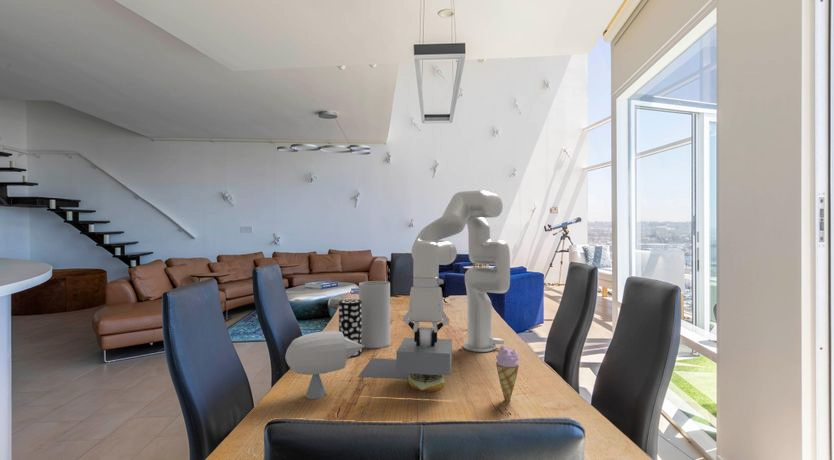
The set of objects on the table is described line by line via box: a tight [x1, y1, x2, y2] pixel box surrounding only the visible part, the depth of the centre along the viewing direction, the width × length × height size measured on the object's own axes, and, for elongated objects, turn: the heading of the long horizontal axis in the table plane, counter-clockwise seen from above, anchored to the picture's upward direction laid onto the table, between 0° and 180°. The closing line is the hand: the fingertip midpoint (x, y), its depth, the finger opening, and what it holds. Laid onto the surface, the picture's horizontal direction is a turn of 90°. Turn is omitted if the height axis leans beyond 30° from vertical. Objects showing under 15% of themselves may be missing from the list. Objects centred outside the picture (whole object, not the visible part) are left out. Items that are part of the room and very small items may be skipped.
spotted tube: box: [338, 298, 363, 359], centre depth 148 cm, size 8×8×20 cm
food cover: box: [395, 326, 453, 376], centre depth 119 cm, size 15×15×11 cm
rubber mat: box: [357, 357, 410, 380], centre depth 133 cm, size 18×18×1 cm
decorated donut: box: [407, 374, 445, 392], centre depth 119 cm, size 10×11×4 cm
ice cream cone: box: [495, 345, 520, 402], centre depth 109 cm, size 7×6×15 cm
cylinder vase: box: [358, 280, 391, 349], centre depth 162 cm, size 12×12×25 cm
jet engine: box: [285, 330, 364, 400], centre depth 113 cm, size 15×20×18 cm
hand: (425, 344), depth 119 cm, fingers closed on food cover, 4 cm apart
